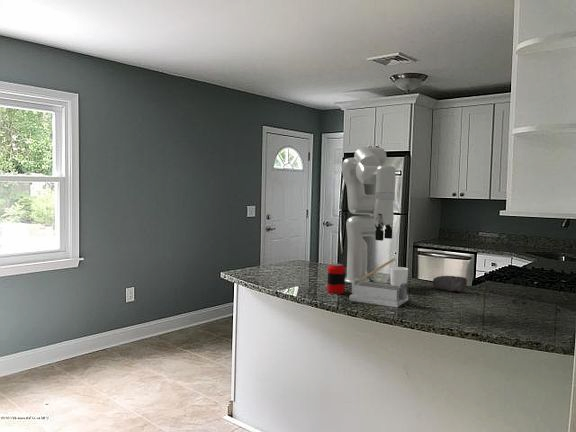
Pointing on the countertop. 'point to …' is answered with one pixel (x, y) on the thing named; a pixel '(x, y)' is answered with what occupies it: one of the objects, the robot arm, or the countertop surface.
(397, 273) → the white cup
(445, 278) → the perforated stone tool
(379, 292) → the heatsink
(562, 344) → the countertop surface
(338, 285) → the soda can
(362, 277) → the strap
